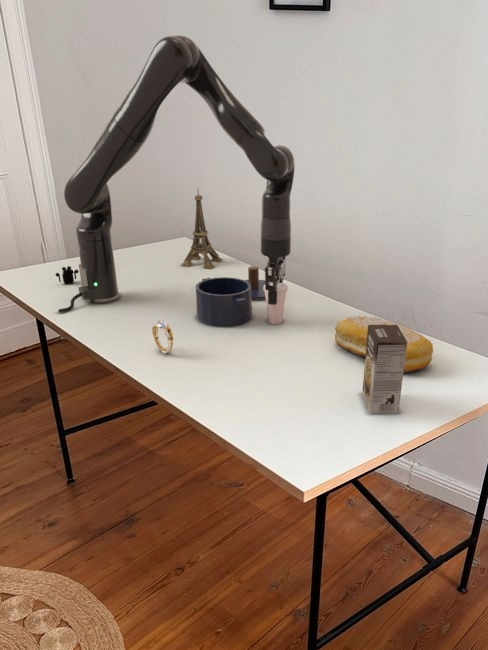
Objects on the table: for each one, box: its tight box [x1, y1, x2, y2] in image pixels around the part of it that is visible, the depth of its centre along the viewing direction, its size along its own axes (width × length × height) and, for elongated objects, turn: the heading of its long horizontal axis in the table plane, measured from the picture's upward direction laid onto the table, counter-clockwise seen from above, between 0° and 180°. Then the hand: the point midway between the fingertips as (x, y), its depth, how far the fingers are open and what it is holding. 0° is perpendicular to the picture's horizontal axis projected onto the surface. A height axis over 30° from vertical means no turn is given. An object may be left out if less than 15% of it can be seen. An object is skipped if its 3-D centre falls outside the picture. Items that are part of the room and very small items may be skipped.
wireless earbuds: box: [55, 265, 80, 285], centre depth 206 cm, size 7×2×5 cm, turn 124°
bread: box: [334, 315, 434, 373], centre depth 164 cm, size 13×26×8 cm, turn 44°
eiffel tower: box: [180, 189, 223, 270], centre depth 219 cm, size 11×11×25 cm
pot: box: [195, 276, 253, 328], centre depth 184 cm, size 15×20×8 cm
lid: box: [244, 265, 272, 300], centre depth 201 cm, size 16×16×7 cm
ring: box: [151, 319, 174, 354], centre depth 164 cm, size 7×3×8 cm, turn 37°
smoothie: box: [263, 277, 289, 325], centre depth 180 cm, size 6×6×14 cm
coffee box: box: [361, 324, 407, 415], centre depth 142 cm, size 9×6×16 cm
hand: (275, 299), depth 180 cm, fingers closed on smoothie, 6 cm apart
